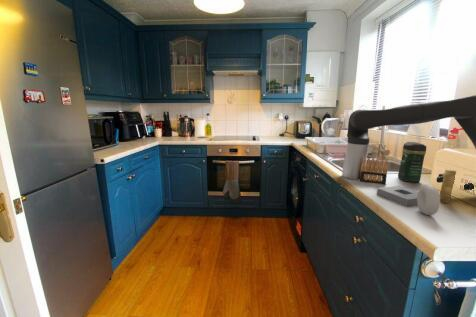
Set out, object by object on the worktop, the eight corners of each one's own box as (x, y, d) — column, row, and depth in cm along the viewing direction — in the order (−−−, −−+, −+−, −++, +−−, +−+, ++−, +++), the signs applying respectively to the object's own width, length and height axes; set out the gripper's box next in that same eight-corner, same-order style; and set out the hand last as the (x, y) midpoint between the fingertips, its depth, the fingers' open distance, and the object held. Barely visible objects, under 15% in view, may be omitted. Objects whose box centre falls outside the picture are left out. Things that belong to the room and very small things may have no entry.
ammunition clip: (359, 181, 107) (362, 156, 104) (359, 180, 109) (362, 156, 106) (385, 184, 102) (389, 159, 100) (385, 183, 104) (389, 158, 101)
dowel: (436, 200, 85) (443, 169, 83) (441, 199, 86) (448, 169, 84) (445, 203, 83) (452, 172, 80) (451, 202, 84) (458, 171, 81)
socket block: (376, 194, 91) (377, 188, 90) (398, 191, 95) (399, 185, 94) (406, 206, 80) (407, 199, 79) (429, 202, 84) (431, 195, 83)
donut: (412, 206, 80) (418, 179, 77) (424, 208, 78) (430, 181, 76) (425, 219, 70) (431, 189, 68) (438, 221, 69) (445, 190, 67)
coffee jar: (422, 183, 104) (430, 144, 100) (402, 182, 107) (410, 143, 103) (413, 177, 114) (420, 141, 109) (395, 176, 116) (401, 140, 112)
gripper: (458, 166, 94) (431, 168, 89) (506, 175, 81) (478, 179, 76) (454, 183, 96) (428, 186, 91) (500, 195, 83) (473, 200, 78)
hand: (451, 183), depth 84 cm, fingers open, 8 cm apart
